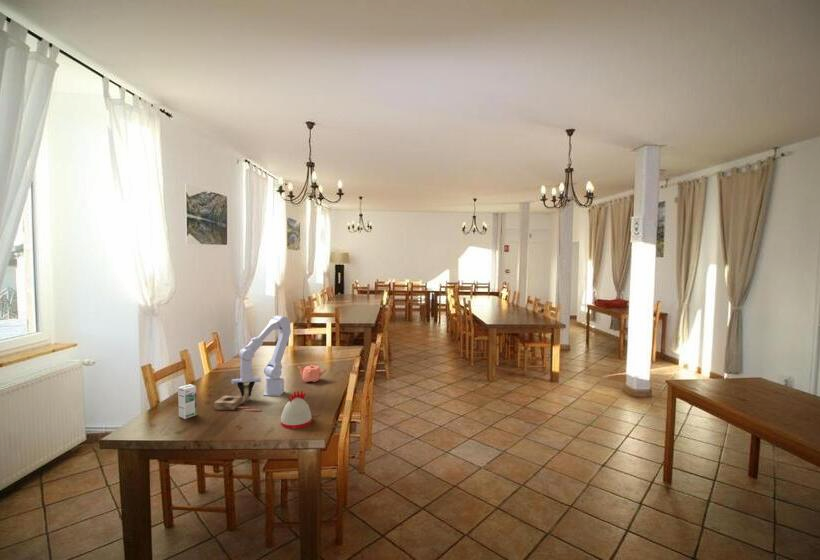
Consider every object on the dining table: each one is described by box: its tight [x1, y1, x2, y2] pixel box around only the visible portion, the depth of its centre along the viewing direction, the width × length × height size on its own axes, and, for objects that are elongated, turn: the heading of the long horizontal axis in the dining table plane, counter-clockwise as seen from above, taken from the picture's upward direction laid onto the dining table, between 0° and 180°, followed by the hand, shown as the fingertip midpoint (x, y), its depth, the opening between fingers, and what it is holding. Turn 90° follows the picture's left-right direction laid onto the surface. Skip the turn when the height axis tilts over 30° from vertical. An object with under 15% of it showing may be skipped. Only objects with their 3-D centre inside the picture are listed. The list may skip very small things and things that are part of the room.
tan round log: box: [243, 383, 250, 402], centre depth 209 cm, size 3×3×8 cm
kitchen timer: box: [280, 389, 313, 430], centre depth 181 cm, size 14×14×15 cm
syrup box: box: [177, 383, 198, 420], centre depth 186 cm, size 6×6×14 cm
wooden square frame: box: [213, 395, 244, 411], centre depth 200 cm, size 10×10×4 cm
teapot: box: [297, 364, 327, 383], centre depth 243 cm, size 14×12×10 cm
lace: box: [235, 406, 263, 412], centre depth 196 cm, size 15×4×1 cm, turn 88°
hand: (246, 395), depth 209 cm, fingers closed on tan round log, 3 cm apart
